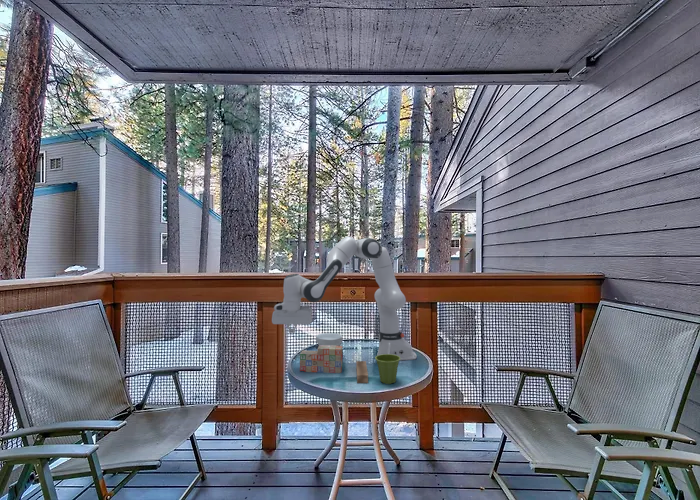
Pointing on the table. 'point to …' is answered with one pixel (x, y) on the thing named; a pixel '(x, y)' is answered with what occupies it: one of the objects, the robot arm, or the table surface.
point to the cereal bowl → (329, 339)
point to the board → (361, 372)
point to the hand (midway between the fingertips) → (291, 332)
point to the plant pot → (387, 367)
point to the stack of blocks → (322, 359)
